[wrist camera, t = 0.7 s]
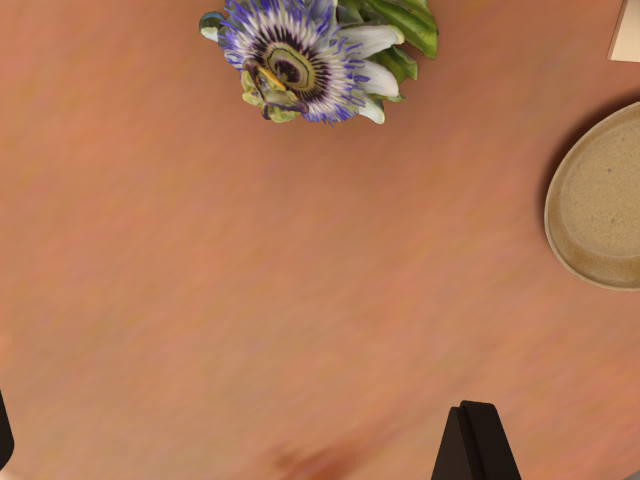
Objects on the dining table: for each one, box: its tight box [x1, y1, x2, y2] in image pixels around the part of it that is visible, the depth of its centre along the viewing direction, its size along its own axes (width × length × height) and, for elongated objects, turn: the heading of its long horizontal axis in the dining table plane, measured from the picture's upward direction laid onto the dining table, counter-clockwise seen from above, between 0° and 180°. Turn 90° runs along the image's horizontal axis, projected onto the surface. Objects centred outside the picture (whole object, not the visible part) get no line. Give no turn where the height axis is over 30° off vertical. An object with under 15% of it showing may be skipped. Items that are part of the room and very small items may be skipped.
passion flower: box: [199, 0, 439, 128], centre depth 28 cm, size 13×12×14 cm
